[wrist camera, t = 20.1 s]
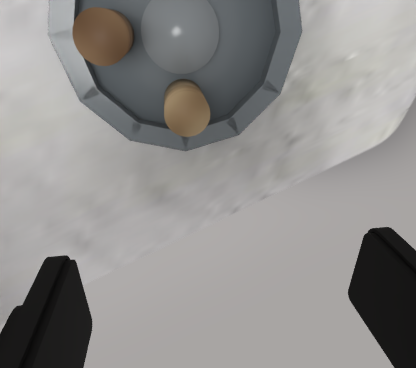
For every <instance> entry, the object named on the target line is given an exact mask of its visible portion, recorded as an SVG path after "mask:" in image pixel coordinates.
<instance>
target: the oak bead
mask: <svg viewBox="0 0 416 368" xmlns="http://www.w3.org/2000/svg"><path fill="white" fill-rule="evenodd" d="M164 118H165V122H166V124H167V126H168V127H169V129H170V130H171V131H172V132H174V133H175V134H177V135H180V136H184V137H190V136H195V135H197V134H199V133H201V132H202V131H203V130H204V129H205V128H206V126H207V125H208V123H209V120H210V108H209V105H208V103H207V101H206V99H205V97H204V95H203V93H202V91H201V89H200V88H199V86H198V85H197V84H196V83H195V82H193V81H191V80H189V79H178V80H175V81H173V82H172V83H171V84H170V85H169V86H168V87H167V89H166V91H165V94H164Z"/></svg>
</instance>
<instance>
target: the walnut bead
mask: <svg viewBox="0 0 416 368" xmlns="http://www.w3.org/2000/svg"><path fill="white" fill-rule="evenodd" d="M72 35H73V41H74V44H75V46H76V48H77V50H78V51H79V53H80V54H81V55H82V56H83V57H84V58H85V59H86V60H87V61H89V62H91V63H93V64H95V65H99V66H109V65H113V64H115V63H117V62H118V61H120V60H121V59H122V58H123V57H124V56H125V55H126V54H127V53H128V52H129V51H130V49H131V48H132V46H133V43H134V30H133V27H132V25H131V23H130V21H129V20H128V19H127V17H126V16H124V15H123V14H122V13H120V12H118V11H116V10H112V9H106V8H100V7H92V8H88V9H86V10H84V11H82V12H81V13H80V14H79V15H78V16H77V18H76V19H75V21H74V24H73V29H72Z"/></svg>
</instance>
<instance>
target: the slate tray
mask: <svg viewBox="0 0 416 368" xmlns="http://www.w3.org/2000/svg"><path fill="white" fill-rule="evenodd" d="M92 7H100V8H106V9H112V10H116V11H118V12H120V13H122V14H123V15H124V16H126V17H127V19H128V20H129V21H130V23H131V25H132V27H133V30H134V43H133V46H132V48H131V49H130V51H129V52H128V53H127V54H126V55H125V56H124V57H123V58H122V59H121V60H120V61H118V62H117V63H115V64H113V65H109V66H99V65H95V64H93V63H91V62H89V61H87V60H86V59H85V58H84V57H83V56H82V55H81V54H80V53H79V51H78V50H77V48H76V46H75V44H74V41H73V35H72V29H73V24H74V21H75V19H76V18H77V16H78V15H79V14H80V13H81V12H82V11H84V10H86V9H88V8H92ZM301 33H302V26H301V16H300V7H299V0H49V13H48V36H49V38H50V40H51V43H52V45H53V47H54V49H55V51H56V53H57V55H58V57H59V59H60V61H61V63H62V65H63V67H64V69H65V71H66V74H67V76H68V78H69V80H70V82H71V84H72V86H73V88H74V90H75V92H76V94H77V96H78V98H79V100H80V102H81V103H83V104H84V105H85V106H87V107H88V108H89V109H90V110H92V111H93V112H94V113H96V114H97V115H98V116H99V117H101V118H102V119H103V120H105V121H106V122H107V123H108V124H110V125H111V126H112V127H113V128H115V129H116V130H117V131H119V132H120V133H121V134H122V135H124V136H125V137H126V138H128V139H129V140H130V141H135V142H141V143H146V144H151V145H156V146H161V147H167V148H172V149H177V150H182V151H188V150H191V149H195V148H198V147H201V146H204V145H208V144H211V143H214V142H217V141H221V140H224V139H227V138H230V137H234V136H237V135H239V134H240V133H241V132H242V131H243V130H244V129H245V128H246V127H247V126H248V125H249V124H250V123H251V122H252V121H253V120H254V119H255V118H256V117H257V116H258V115H259V114H260V113H261V112H262V111H263V110H264V109H265V108H266V107H267V106H268V105H269V104H270V103H271V102H272V101H274V100H275V99H276V98H277V97H278V96H279V95H280V93H281V90H282V87H283V85H284V82H285V79H286V76H287V73H288V70H289V67H290V65H291V62H292V59H293V56H294V53H295V50H296V48H297V45H298V42H299V39H300V36H301ZM178 79H189V80H191V81H193V82H195V83H196V84H197V85H198V86H199V88H200V89H201V91H202V93H203V95H204V97H205V99H206V101H207V103H208V105H209V108H210V120H209V123H208V125H207V126H206V128H205V129H204V130H203V131H202V132H201V133H199V134H197V135H195V136H190V137H184V136H180V135H177V134H175V133H174V132H172V131H171V130H170V129H169V127H168V126H167V124H166V122H165V118H164V94H165V91H166V89H167V87H168V86H169V85H170V84H171V83H172V82H173V81H175V80H178Z"/></svg>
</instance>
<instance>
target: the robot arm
mask: <svg viewBox="0 0 416 368" xmlns="http://www.w3.org/2000/svg"><path fill="white" fill-rule="evenodd" d="M348 295H349V299H350V301H351V303H352V304H353V305H354V307H355V309H356V310H357V312H358V313H359V315H360V316H361V318H362V319H363V321H364V322H365V324H366V325H367V327H368V328H369V330H370V331H371V333H372V334H373V336H374V337H375V339H376V340H377V342H378V343H379V345H380V346H381V348H382V349H383V351H384V353H385V354H386V355H387V357H388V359H389V360H390V362H391V363H392V365H393V366H394V368H416V251H415V249H414V248H412V247H411V246H410V245H409V244H408V243H407V242H406V241H405V240H404V239H403V238H402V237H400V236H399V235H398V234H397V233H396V232H395V231H394V230H393V229H391V228H389V227H383V228H372V229H370V230H369V231H368V233H367V234H365V235H364V238H363V241H362V244H361V248H360V251H359V255H358V258H357V262H356V265H355V269H354V272H353V275H352V279H351V283H350V286H349V289H348ZM91 331H92V318H91V314H90V311H89V307H88V303H87V300H86V296H85V292H84V289H83V285H82V282H81V278H80V274H79V271H78V267H77V263H76V261H75V260H70V258H69V257H68V256H55V257H47V258H46V259H45V260H44V262H43V264H42V266H41V268H40V270H39V272H38V274H37V276H36V279H35V281H34V283H33V285H32V287H31V289H30V291H29V293H28V295H27V297H26V299H25V301H24V303H23V305H21V306H17V307H16V308H14V309H13V311H12V312H11V314H10V316H9V318H8V320H7V322H6V324H5V326H4V328H3V329H2V331H1V333H0V368H83V367H84V362H85V358H86V353H87V349H88V344H89V340H90V336H91Z"/></svg>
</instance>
